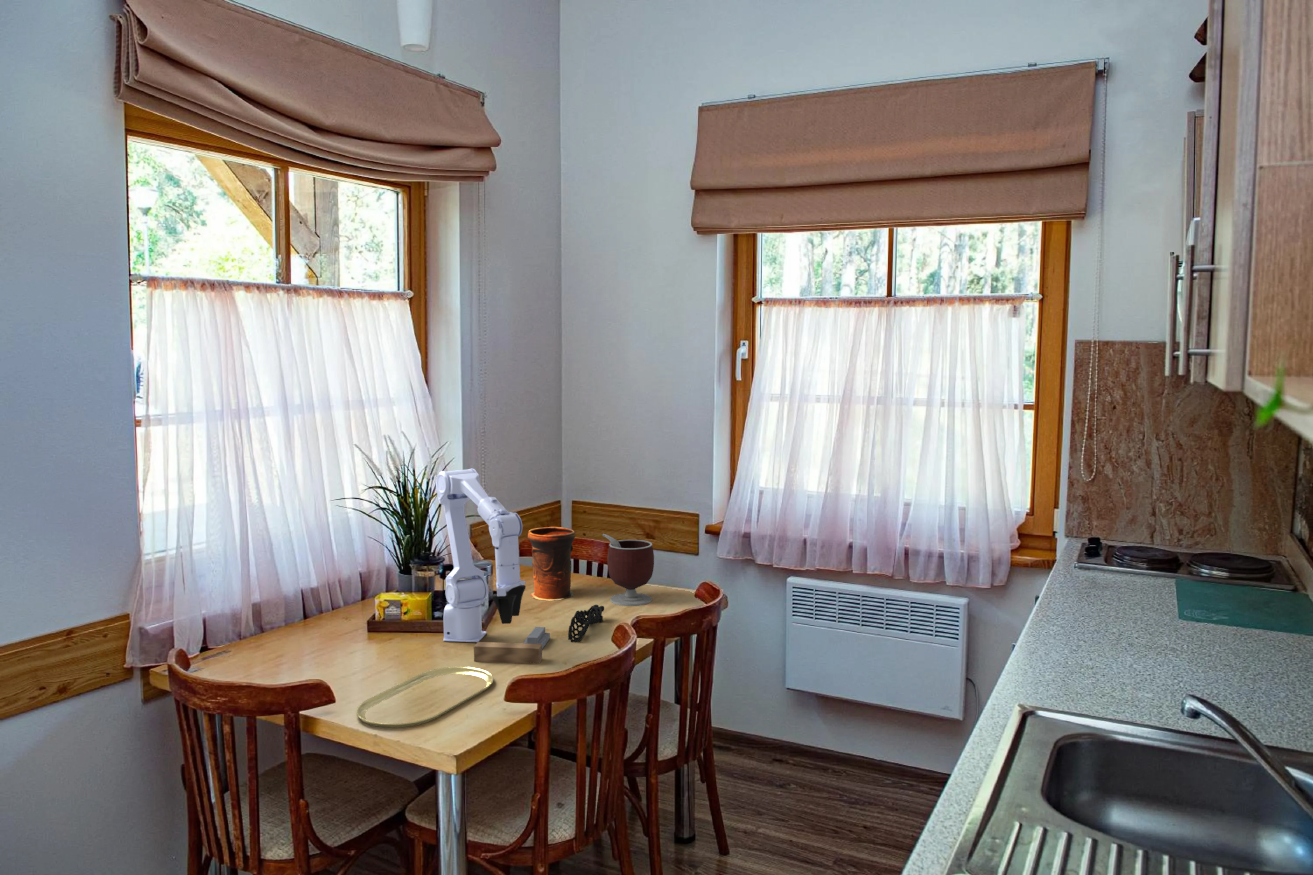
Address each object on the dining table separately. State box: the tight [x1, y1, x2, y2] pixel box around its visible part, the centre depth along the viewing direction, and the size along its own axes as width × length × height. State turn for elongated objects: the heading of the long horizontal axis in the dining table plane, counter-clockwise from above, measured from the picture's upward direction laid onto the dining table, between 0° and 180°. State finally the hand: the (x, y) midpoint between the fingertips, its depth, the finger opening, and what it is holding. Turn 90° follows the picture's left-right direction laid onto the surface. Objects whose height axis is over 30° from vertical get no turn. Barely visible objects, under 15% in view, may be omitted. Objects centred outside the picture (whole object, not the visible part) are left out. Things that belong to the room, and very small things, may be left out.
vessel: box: [527, 526, 576, 602], centre depth 291 cm, size 14×14×20 cm
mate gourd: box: [602, 533, 655, 607], centre depth 285 cm, size 16×14×20 cm
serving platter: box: [356, 666, 494, 729], centre depth 208 cm, size 19×35×2 cm, turn 155°
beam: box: [473, 641, 543, 665], centre depth 232 cm, size 16×4×4 cm, turn 84°
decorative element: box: [567, 604, 605, 643], centre depth 256 cm, size 22×5×6 cm, turn 168°
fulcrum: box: [522, 626, 551, 650], centre depth 245 cm, size 5×9×3 cm, turn 174°
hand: (510, 619), depth 232 cm, fingers open, 7 cm apart
